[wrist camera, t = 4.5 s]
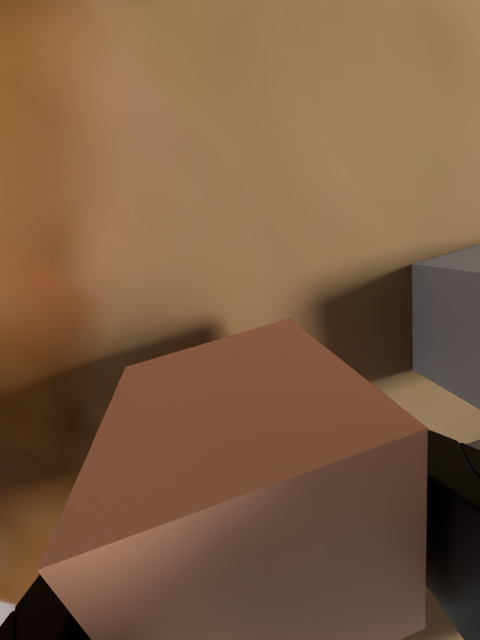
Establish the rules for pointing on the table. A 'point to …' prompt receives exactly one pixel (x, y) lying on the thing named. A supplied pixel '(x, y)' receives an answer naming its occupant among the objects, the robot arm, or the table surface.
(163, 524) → the terracotta cube
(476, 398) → the slate cube
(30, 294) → the table surface
